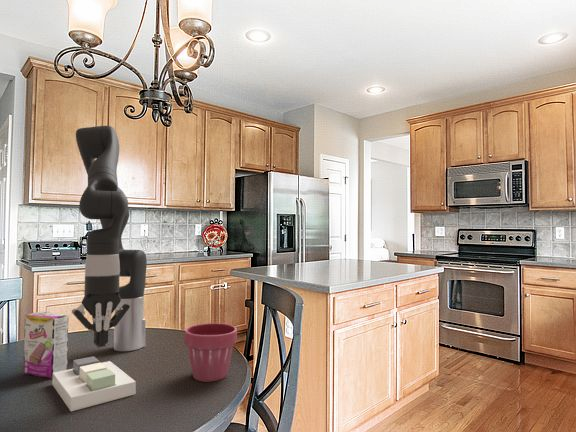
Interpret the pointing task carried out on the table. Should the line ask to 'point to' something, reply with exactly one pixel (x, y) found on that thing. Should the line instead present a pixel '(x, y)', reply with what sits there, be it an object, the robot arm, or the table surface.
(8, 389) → the table surface
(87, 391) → the white slotted tray
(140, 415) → the table surface
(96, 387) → the sage key
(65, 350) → the candy bar box
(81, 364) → the charcoal key
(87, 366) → the ivory key
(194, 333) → the plant pot
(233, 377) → the table surface
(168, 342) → the table surface
